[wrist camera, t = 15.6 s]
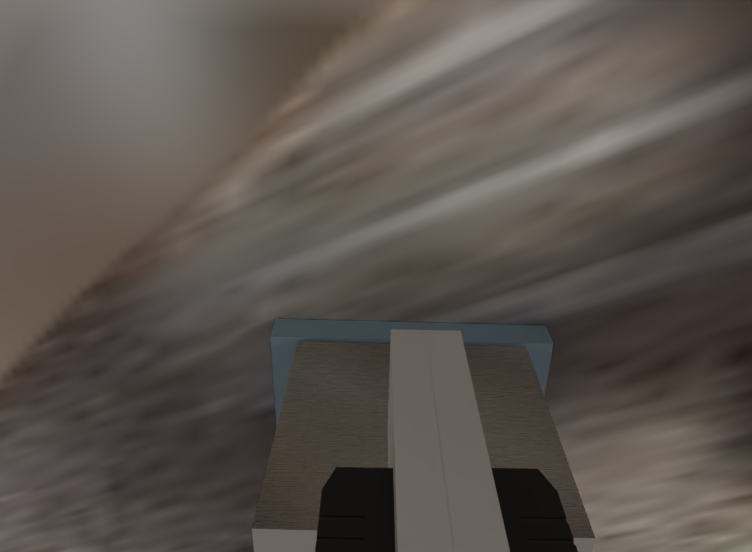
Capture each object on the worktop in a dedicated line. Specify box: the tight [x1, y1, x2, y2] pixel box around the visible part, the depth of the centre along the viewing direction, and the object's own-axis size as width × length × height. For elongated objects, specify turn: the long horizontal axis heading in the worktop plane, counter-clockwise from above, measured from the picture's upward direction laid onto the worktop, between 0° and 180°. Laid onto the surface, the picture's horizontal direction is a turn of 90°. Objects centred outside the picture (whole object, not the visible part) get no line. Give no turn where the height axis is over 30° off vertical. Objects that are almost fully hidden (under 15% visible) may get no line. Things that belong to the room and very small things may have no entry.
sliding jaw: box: [252, 341, 595, 552], centre depth 23 cm, size 10×7×10 cm
